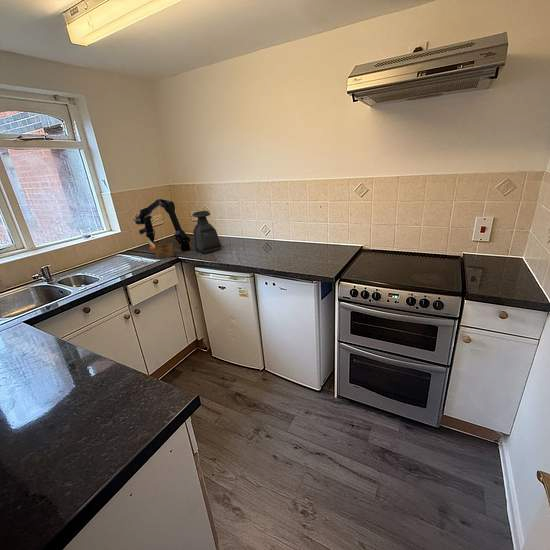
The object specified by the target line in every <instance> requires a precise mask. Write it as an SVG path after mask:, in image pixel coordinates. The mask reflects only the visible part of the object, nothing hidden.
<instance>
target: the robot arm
mask: <svg viewBox="0 0 550 550" xmlns="http://www.w3.org/2000/svg"><path fill="white" fill-rule="evenodd" d="M158 207H161V208H163V210H164V212H166V213H167V214H168V217H169V218H170V221H171V224H172V226H173V228H174V231H175V232H174V234H173V236H174V239H175V240H176V241H177V243H178V244H179V245H180V250H181V251H182V252H187V251H188V252H189V251H191V250H192V249H191V247H190V242H191V238H190V237H189V236H188V235H187V233H186V232H185V231H184V230H183V229H182V226H181V224H180V221H179V219H178V216H177V214H176V205H175V203H174V201H172V200H167V199H163V198H158V199H156V200H155V201H153V202H152V203H151V204H150V205H148V206H147V207H144V208H142V209H140V210H139V214H138V216H135V219H134V222H135V224H136V225H144V227H143V228H140V229H139V230H138V233H139V234H140V235H141V236H142V235H143V234H145V237H146V238H147V239H148V240H150V241H151V242H152V243H153V244H154V242H155V238H156V237H155V236H156V229H155V228H154V226H153V223H152V219H154V218H153V216H152V215H151V214H152V213H153V211H154V210H155V209H157V208H158ZM154 245H155V244H154Z"/></svg>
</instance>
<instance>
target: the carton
mask: <svg viewBox="0 0 550 550" xmlns="http://www.w3.org/2000/svg"><path fill="white" fill-rule="evenodd" d="M154 252H155V257H156V260H160V259H164V258H172V257H175V256H176V254H175V248H174V245H173V242H170V243H164V244H159V245H155V251H154Z"/></svg>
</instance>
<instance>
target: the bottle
mask: <svg viewBox="0 0 550 550" xmlns="http://www.w3.org/2000/svg"><path fill="white" fill-rule="evenodd" d="M191 215H192V217H194V218H197V223H196V224H195V225H194V228H193V230H192V236H193V248H194V249H195V250H196V251H197V252H198V253H199V252H200V253H201V254H203V255H204V254H208V253H213V252H215V251H216V252H217V251H219V250H220V249H221V247H222V244H221V240H220V238H219V234H218V232H217V229H216V228H215V227H214V226H213V225H212V224H211V223H210V222H209V220H208V219H207V217H208V216H211V212H209V211H208V210H199V211H195V212H193V213H192V214H191Z"/></svg>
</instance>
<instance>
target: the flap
mask: <svg viewBox="0 0 550 550" xmlns="http://www.w3.org/2000/svg"><path fill="white" fill-rule="evenodd" d="M147 244H148V245H149V246H150V247H153V248H155V246H156V244H153V243H152V242H151V241H150V239H148V240H147Z"/></svg>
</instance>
